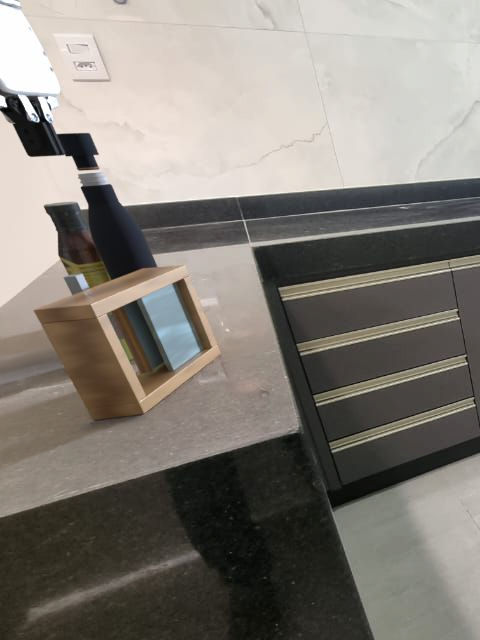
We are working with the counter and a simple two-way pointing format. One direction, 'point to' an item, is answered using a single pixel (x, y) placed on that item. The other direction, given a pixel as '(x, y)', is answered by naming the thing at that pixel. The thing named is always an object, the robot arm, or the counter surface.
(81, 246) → the sauce bottle
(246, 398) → the counter surface
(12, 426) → the counter surface
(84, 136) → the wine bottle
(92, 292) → the window frame
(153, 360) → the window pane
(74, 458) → the counter surface
